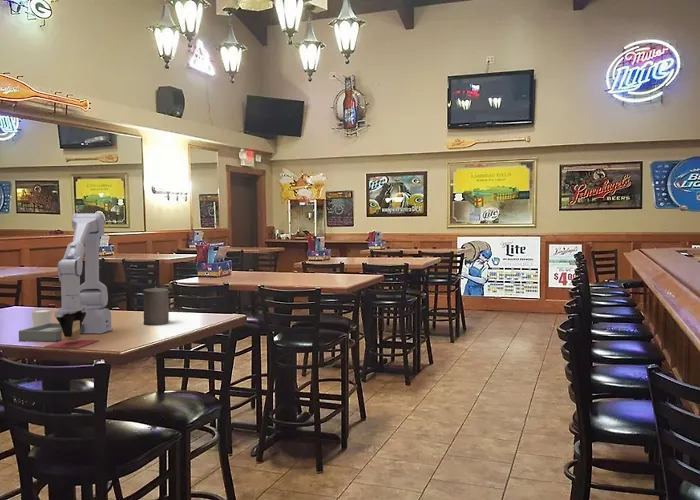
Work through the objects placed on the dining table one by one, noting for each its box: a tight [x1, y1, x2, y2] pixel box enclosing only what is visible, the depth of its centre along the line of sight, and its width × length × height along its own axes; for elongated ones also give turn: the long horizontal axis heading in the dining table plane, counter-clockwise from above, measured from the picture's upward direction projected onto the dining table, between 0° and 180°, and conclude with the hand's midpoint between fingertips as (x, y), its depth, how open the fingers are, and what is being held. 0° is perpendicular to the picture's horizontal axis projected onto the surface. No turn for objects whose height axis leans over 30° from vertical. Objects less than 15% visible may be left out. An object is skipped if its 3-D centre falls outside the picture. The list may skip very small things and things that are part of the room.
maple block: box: [61, 320, 81, 341], centre depth 200 cm, size 4×4×6 cm
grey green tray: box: [18, 322, 84, 343], centre depth 213 cm, size 14×16×4 cm
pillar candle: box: [142, 285, 170, 326], centre depth 240 cm, size 10×10×15 cm
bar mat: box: [43, 338, 100, 349], centre depth 200 cm, size 12×12×1 cm
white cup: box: [31, 309, 53, 327], centre depth 229 cm, size 7×7×7 cm
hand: (72, 335), depth 200 cm, fingers closed on maple block, 4 cm apart
